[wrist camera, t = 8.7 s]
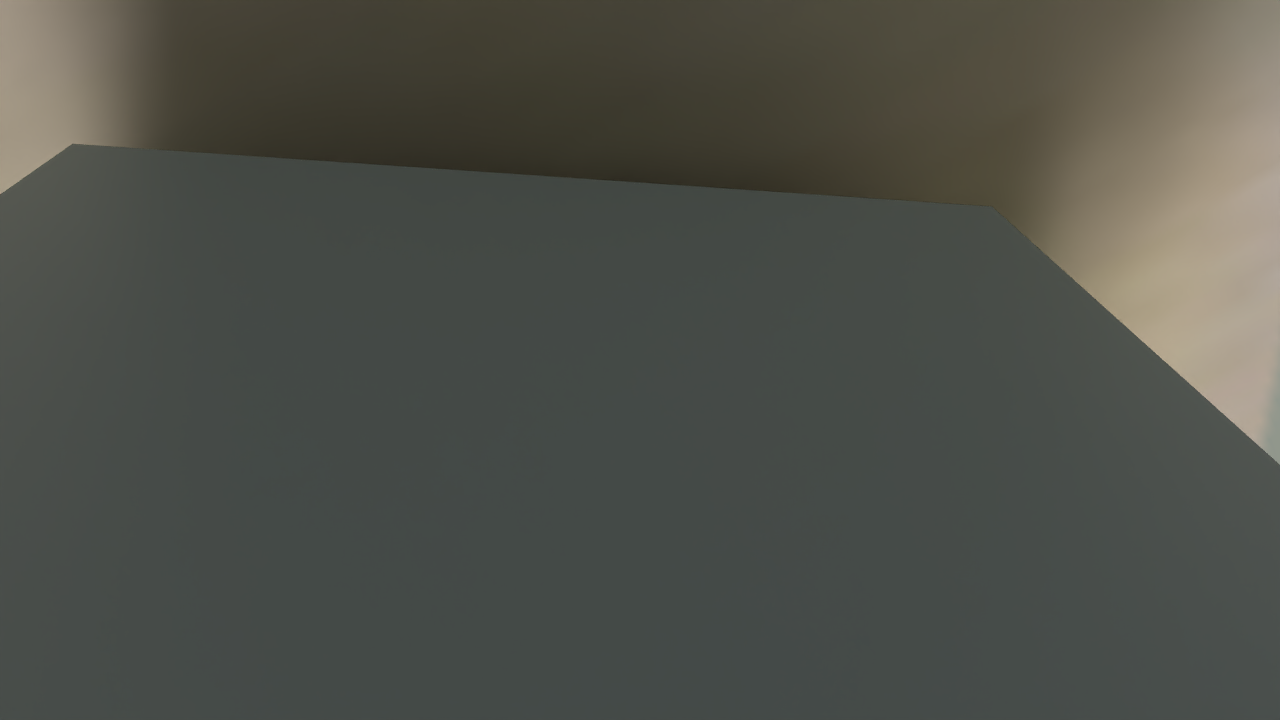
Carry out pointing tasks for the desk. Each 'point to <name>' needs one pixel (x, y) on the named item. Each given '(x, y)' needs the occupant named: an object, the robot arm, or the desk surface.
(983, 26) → the desk surface
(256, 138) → the desk surface
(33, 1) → the desk surface
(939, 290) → the slate gray cube
